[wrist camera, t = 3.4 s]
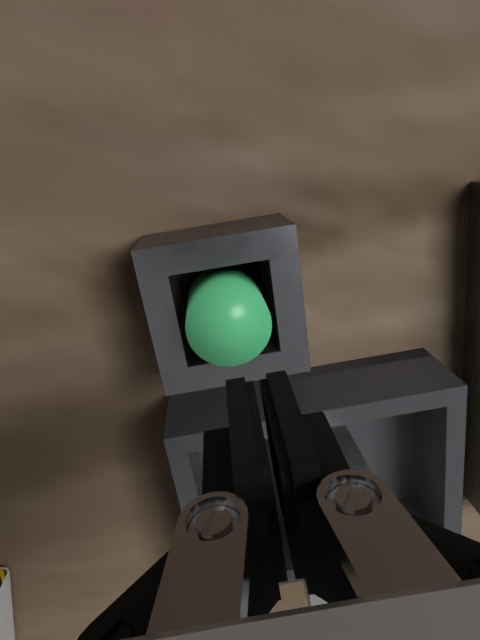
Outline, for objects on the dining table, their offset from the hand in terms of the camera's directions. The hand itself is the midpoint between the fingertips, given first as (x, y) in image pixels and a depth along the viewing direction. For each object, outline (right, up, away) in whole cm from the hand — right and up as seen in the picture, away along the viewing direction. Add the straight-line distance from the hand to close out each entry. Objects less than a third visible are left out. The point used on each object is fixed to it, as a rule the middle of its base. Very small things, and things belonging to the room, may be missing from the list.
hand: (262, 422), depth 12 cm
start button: (-1, +4, +9) cm, 10 cm away
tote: (+3, -5, +15) cm, 16 cm away
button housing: (-2, +4, +11) cm, 12 cm away
